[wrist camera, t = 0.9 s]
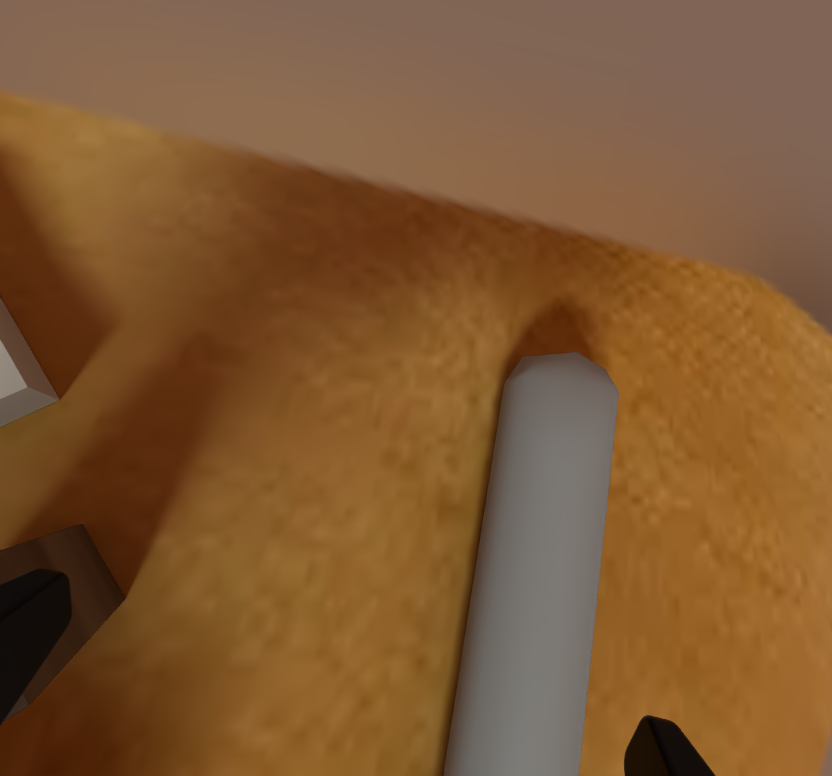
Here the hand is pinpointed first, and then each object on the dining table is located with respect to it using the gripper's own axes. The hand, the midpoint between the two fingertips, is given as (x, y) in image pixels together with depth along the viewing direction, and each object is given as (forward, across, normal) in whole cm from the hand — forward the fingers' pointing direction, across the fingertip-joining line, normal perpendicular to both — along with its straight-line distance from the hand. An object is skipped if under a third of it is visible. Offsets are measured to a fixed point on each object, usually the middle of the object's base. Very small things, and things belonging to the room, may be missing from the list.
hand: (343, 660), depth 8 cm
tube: (+12, -5, +11) cm, 17 cm away
